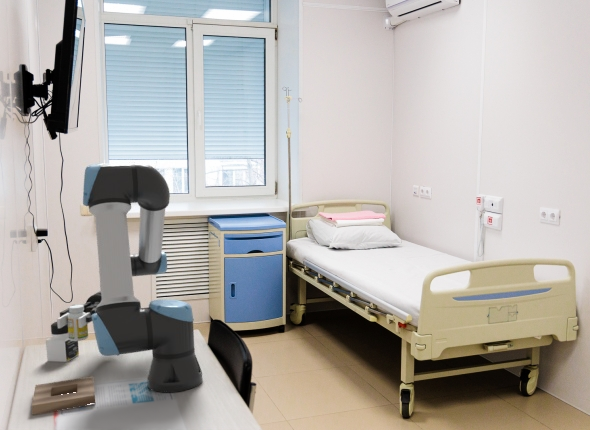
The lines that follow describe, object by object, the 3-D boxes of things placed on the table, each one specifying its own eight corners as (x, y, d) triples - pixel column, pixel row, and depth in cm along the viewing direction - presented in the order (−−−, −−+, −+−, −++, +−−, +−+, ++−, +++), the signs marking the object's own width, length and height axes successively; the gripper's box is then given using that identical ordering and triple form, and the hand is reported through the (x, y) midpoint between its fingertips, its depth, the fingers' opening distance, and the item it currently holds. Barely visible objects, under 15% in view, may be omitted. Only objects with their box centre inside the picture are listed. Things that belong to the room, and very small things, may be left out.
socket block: (95, 404, 154) (94, 395, 154) (32, 415, 149) (31, 405, 149) (93, 384, 168) (93, 376, 168) (36, 393, 163) (35, 385, 163)
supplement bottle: (66, 342, 170) (64, 309, 169) (71, 336, 175) (69, 304, 175) (85, 340, 171) (83, 308, 170) (90, 335, 176) (88, 303, 175)
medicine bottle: (67, 362, 189) (64, 325, 188) (46, 361, 190) (44, 325, 189) (79, 355, 196) (76, 319, 195) (60, 354, 197) (57, 319, 196)
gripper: (130, 314, 190) (101, 335, 167) (74, 315, 191) (38, 337, 168) (128, 291, 189) (100, 309, 166) (72, 292, 191) (36, 311, 168)
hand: (69, 323), depth 167 cm, fingers closed on supplement bottle, 5 cm apart
